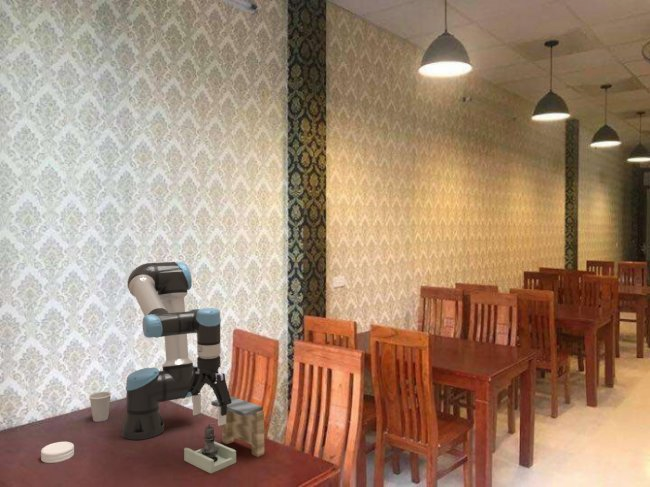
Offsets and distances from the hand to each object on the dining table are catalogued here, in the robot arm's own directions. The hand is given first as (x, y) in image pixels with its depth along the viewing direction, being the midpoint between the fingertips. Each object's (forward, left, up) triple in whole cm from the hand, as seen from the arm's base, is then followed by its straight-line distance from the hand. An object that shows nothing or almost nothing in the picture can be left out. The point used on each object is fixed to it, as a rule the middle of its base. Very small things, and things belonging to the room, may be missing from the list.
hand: (209, 419), depth 171 cm
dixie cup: (-66, -5, -14) cm, 67 cm away
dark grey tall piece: (0, 0, -14) cm, 14 cm away
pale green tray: (0, 0, -14) cm, 14 cm away
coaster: (-43, -31, -15) cm, 55 cm away
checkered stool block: (0, +11, -14) cm, 18 cm away
